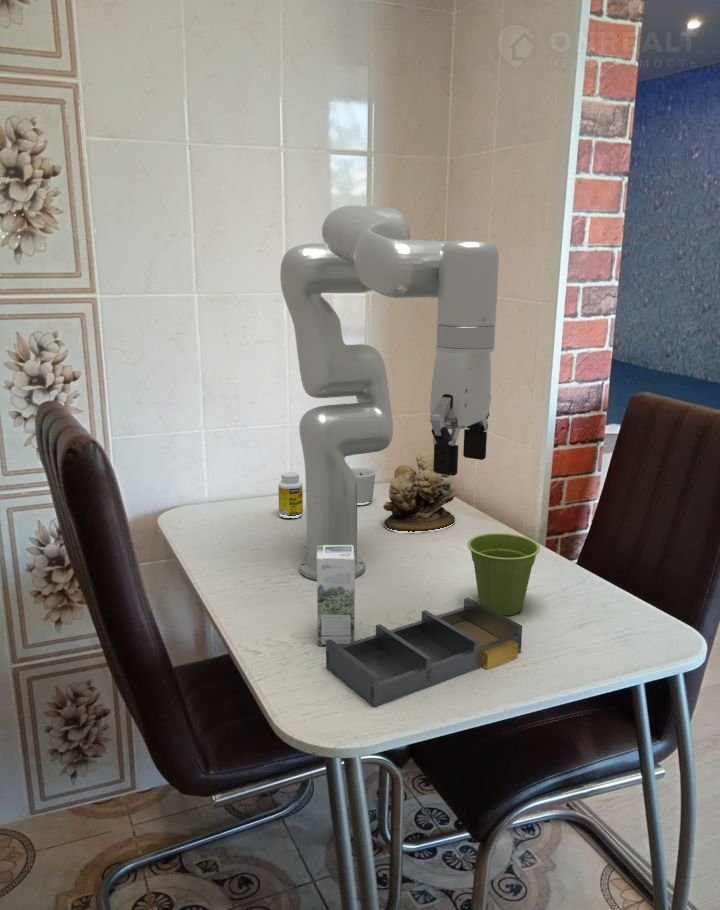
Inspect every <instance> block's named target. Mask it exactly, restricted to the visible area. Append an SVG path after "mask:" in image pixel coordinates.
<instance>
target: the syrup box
mask: <svg viewBox="0 0 720 910" xmlns="http://www.w3.org/2000/svg"><path fill="white" fill-rule="evenodd" d="M355 579H356V577H355V557H354V546H353V545H318V546H317V580H316V607H317V608H316V610H317V611H316V613H317V614H316V615H317V616H316V619H317V622H316V623H317V625H316V627H317V631H316V633H317V646H320V647H326V640H330V639H331V640H333V641H334V642H335V643H337V644H338V645H339V646H341V645H344V644H348V643H351V642H354V641H355V627H356V625H355V624H356V623H355V617H356V616H355V610H356V608H355V606H356V604H355V602H356V601H355V599H356V598H355V597H356V595H355V593H356V588H355V587H356V580H355Z"/></svg>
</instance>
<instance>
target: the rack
mask: <svg viewBox="0 0 720 910" xmlns="http://www.w3.org/2000/svg"><path fill="white" fill-rule="evenodd" d="M522 636H523V625H522V624H521V623H518V622H516V621H514V620H513V619H510V618H508V617H507V616H506V615H501V614H499V613H497V612H495V611H493V610H491V609H489V608H487V607H485V606H484V605H482V604H480V603H479V601H476V600H474V599H472V598H470V597H464V598H463V607H461V608H460V607H459V608H457V609H456V608H455V609H454V610H451V611H450V610H449V611H447V612H444V613H441V614H438V615H435V614H433V613H432V612H429V611H428V610H426V609H425V610H422V611H421V620H419V621H415V622H411V623H409V624H405V625H403V626H399V627H396V628H393V629H389V628H388V627H385V626H384V625H383V624H376V625H375V634H373V635H370V636H367V637H364V638H361V639H358V640H354V642H351V643H348V644H344V645H338V644H337V643H335V642H334V641H333V640H331V639H330V640H326V646H325V664H326V665H325V666H326V667H325V668H326V669H327V670H328V671H329V672H330V673H332V674H333V676H335V677H336V678H338V679H339V680H340V681H341V682H343V683H344V684H345V685H346V686H347V687H348V688H350V689H351V690H352V691H353V692H354V693H356V694H357V695H358V696H359V697H360V698H361V699H363V700H364V701H365V702H367V703H368V704H369V705H370V706H372V707H373V708H376V707H380V706H382V705H385V704H387V703H390V702H392V701H395V700H398V699H400V698H403V697H406V696H408V695H412V694H414V693H416V692H419V691H422V690H424V689H427V688H429V687H432V686H435V685H438V684H440V683H442V682H445V681H447V680H451V679H454V678H456V677H458V676H459V677H460V676H461V675H464V674H467V673H470V672H471V671H475V670H477V669H480V668H483V669H486V670H490V669H492V668H496V667H498V666H501V665H503V664H506V663H508V662H511V661H513V660H516V659H518V658H519V656H518V654H520V653H522V640H523V639H522Z"/></svg>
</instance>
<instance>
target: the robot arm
mask: <svg viewBox="0 0 720 910" xmlns="http://www.w3.org/2000/svg"><path fill="white" fill-rule="evenodd" d="M409 223H410V222H409V221H408V219H407V217H406V216H405V215H404V214H403V212H401V211H400V210H398V209H396V208H394V207H381V206H366V205H345V206H341V207H338V208H335V209H334V210H332V211H331V212H329V214H328V215H326V218H325V219H324V221H323V223H322V227H321V236H322V240H323V242H324V243H305V244H299V245H296V246H294V247H291V248H290V249H288V250H287V251H286V252H285V254H284V256H283V258H282V261H281V265H280V276H279V277H280V286H281V291H282V295H283V298H284V301H285V304H286V307H287V309H288V312H289V314H290V318H291V320H292V323H293V328H294V336H295V343H296V351H297V358H298V366H299V372H300V379H301V384H302V388H303V390H304V391H305V393H306V394H307V395H308V396H310V398H311V397H312V398H315V399H328V398H329V399H330V398H345V397H355V399H356V400H357V401H356V402H355V403H354V402H353V403H339V404H328V405H327V404H326V405H321V406H320V405H319V406H317V407H313V408H311V409H309V410H308V411H306V412H305V413H304V414H303V415H302V417H300V418H301V419H300V422H299V439H300V443H301V448H302V454H303V460H304V472H305V507H306V508H305V511H306V515H305V516H306V517H305V518H306V520H305V521H306V540H304V541H303V542H302V547H303V548H304V549H305V550H306V556H305V557H303V558H302V559H301V560H300V561H299V563H298V570H299V572H300V573H301V575H302V574H303V575H302V576H304V577H305V578H309V579H310V580H314V581H317V546H318V545H353V546H354V557H355V578H357V577H359V576H361V575H362V574H363V573H364V572H365V570H366V562H365V560H364V559H363V558H361V557H360V556H358V506H357V480H356V477H355V474H354V472H353V471H352V467H350V466H349V465H348V463H347V462H346V459H345V458H346V457H349V456H355V455H364V454H372V453H377V452H381V451H383V450H385V449H387V448H388V447H389V446H390V444H391V442H392V439H393V434H394V423H393V416H392V415H393V412H392V406H391V405H392V404H391V399H390V390H389V384H388V383H389V381H388V374H387V368H386V364H385V362H384V359H383V357H382V355H381V353H380V352H379V351H378V350H377V349H376V348H375V347H374V346H372V345H368V344H362V343H361V344H346V343H345V342H344V338H343V333H342V332H343V331H342V324H341V320H340V317H339V315H338V314H337V312H336V310H335V309H334V308H333V307H332V305H331V304H330V303H329V302H328V301H327V300H326V299H325V298H324V297H323V296H322V294H360V293H362V294H363V293H367V292H371V291H374V292H375V293H377V294H380V295H382V296H385V297H387V298H388V297H389V298H394V299H395V298H396V299H407V298H409V299H411V298H413V299H414V298H434V299H435V298H437V319H436V320H437V321H436V347H435V348H436V349H435V350H436V355H435V356H436V357H435V361H434V365H433V372H432V373H433V374H432V381H431V392H430V406H429V407H430V408H429V422H430V425H431V435H432V436H433V437H432V444H433V456H434V467H433V471H434V472H435V473H439V474H445V475H449V476H452V477H453V476H456V475H457V474H458V469H459V467H458V466H459V463H458V462H459V445H458V444H456V443H457V440H458V437H459V435H460V432H461V430H464V431H463V452H462V455H463V457H464V458H465V459H466V458H467V459H472V460H473V459H474V460H479V461H483V460H485V459H486V456H487V439H488V438H487V437H488V429H489V423H488V420H489V417H490V414H491V413H490V406H491V401H492V398H491V393H492V392H491V387H492V385H491V384H492V382H491V377H492V375H491V374H492V373H491V372H492V371H491V369H492V368H491V353H492V352H495V345H496V343H495V341H496V340H495V339H496V322H497V298H498V282H499V279H498V278H499V262H500V261H499V259H500V256H499V255H500V253H499V249H498V246H497V245H496V244H495V243H493V242H492V241H487V240H486V241H485V240H453V241H451V240H449V241H448V240H425V239H411V227H410V224H409ZM449 430H451V432H449Z"/></svg>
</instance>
